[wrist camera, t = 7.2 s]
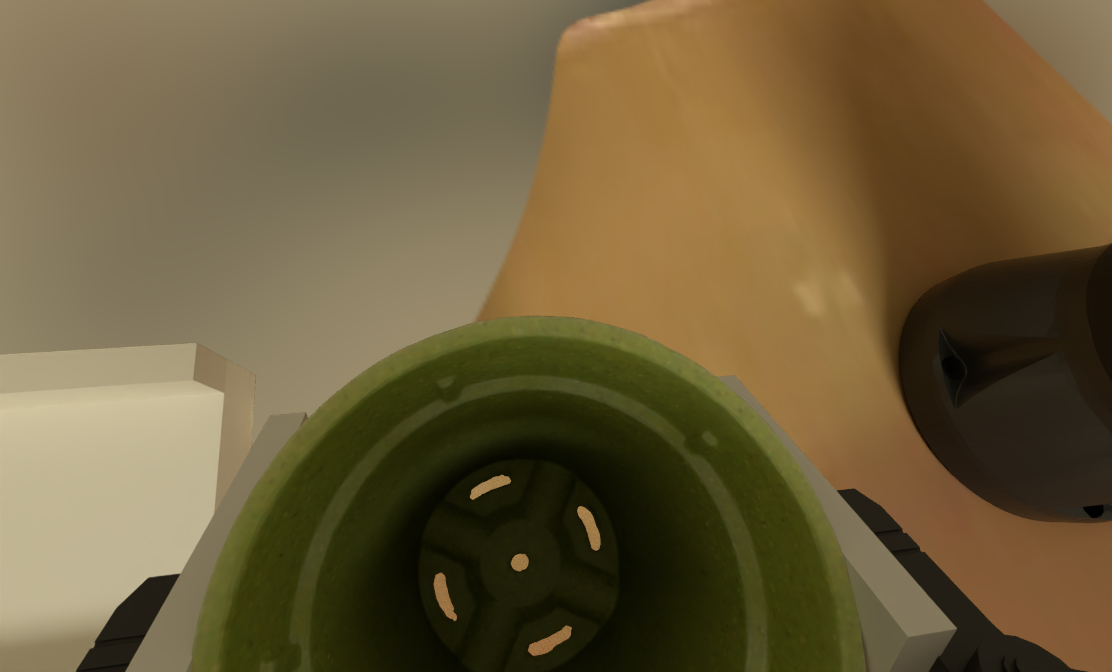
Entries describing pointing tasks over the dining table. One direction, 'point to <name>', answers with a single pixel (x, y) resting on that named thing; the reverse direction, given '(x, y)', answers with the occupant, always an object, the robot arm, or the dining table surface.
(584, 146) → the dining table surface
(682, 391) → the plant pot
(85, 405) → the bracket shelf
